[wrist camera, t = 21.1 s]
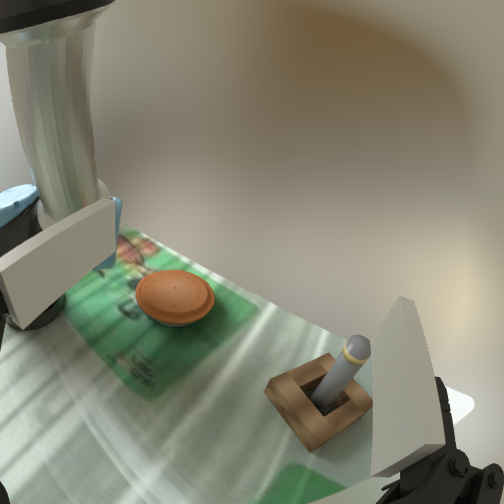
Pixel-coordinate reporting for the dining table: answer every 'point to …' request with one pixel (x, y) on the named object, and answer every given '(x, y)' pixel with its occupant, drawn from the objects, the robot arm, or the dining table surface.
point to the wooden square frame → (302, 409)
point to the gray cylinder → (341, 372)
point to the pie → (175, 297)
